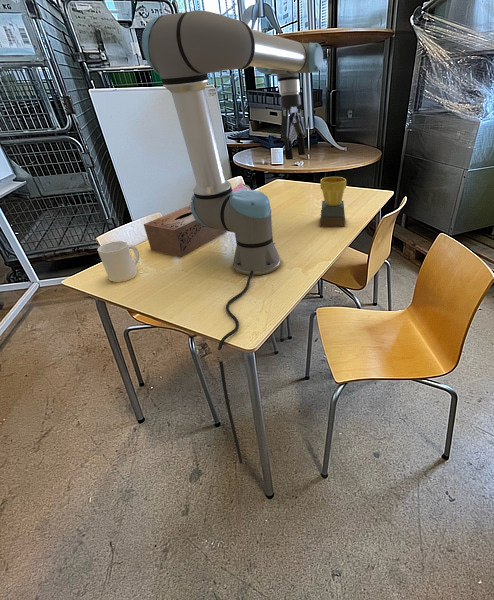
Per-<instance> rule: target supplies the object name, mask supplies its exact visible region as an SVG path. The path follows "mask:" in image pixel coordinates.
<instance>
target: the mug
mask: <svg viewBox="0 0 494 600" xmlns="http://www.w3.org/2000/svg"><path fill="white" fill-rule="evenodd" d="M131 250H132V252H133V253H134V259H133V255H132V253H131ZM97 252H98V255H99V257H100V258H99V259H100V260H101V263H102V265H103V268H104V270H105V273H106V276H107V278H108V279H109V280H110V281H111V282H113V283H123V282H127V281H129V280H132V279H134V278H135V277H136V276H137V273H138V271H137V268H136V265H137V264H138V262H139V260H140V251H139V249H138V248H137V247H136V245H134V244H131V243H128V242H127V241H123V240H117V241H116V240H115V241H110V242H106V243H103V244H101V245H99V247H97Z"/></svg>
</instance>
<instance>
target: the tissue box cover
mask: <svg viewBox="0 0 494 600" xmlns="http://www.w3.org/2000/svg"><path fill="white" fill-rule="evenodd" d="M143 228H144V231H145V234H146V237H147V242H148V244H149V248H150V250H151V251H152V252H157V253H161V254H166V255H170V256H172V257H173V256H174V257H177V258H182V257H184V256H186V255H188V254H190V253H191V252H193V251H195V250H197V249H198V248H200V247H202V246H204V245H205V244H208V243H209V242H210V241H213V240H215V239H216V238H218V237H220V236H222V235H223V234H225V233H226V232H227V231H224V230H219V229H212V228H209V227H206V226H203V225H201V224H200V223H198V222H197V221H196V220H195V218H194V217H193V215H192V212H191V207H190V204H189V205H187V206H185V207H182V208H179V209H178V210H175V211H172V212H170V213H168V214H167V213H166V214H165V215H163V216H161V217H160V216H159V217H158V218H155V219H153V220H150V221H148V222H146V223H144V224H143Z"/></svg>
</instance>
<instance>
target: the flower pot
mask: <svg viewBox="0 0 494 600" xmlns="http://www.w3.org/2000/svg"><path fill="white" fill-rule="evenodd" d="M319 181H320V183H319V185H320V190H321V191H322V196H323V201H325V204H326V205H328V206H338V205H340V204H341V202H342V201H343V198H344V197H343V196H344V193H345V190H346V188H347V179H346V178H345V177H342V176H327V177H322V178H320V180H319Z"/></svg>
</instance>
